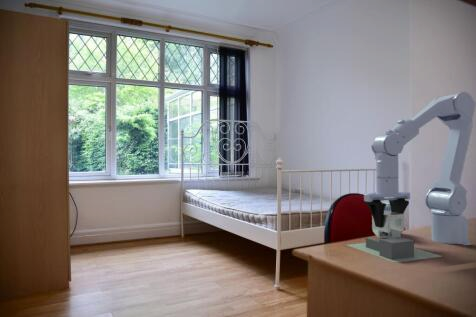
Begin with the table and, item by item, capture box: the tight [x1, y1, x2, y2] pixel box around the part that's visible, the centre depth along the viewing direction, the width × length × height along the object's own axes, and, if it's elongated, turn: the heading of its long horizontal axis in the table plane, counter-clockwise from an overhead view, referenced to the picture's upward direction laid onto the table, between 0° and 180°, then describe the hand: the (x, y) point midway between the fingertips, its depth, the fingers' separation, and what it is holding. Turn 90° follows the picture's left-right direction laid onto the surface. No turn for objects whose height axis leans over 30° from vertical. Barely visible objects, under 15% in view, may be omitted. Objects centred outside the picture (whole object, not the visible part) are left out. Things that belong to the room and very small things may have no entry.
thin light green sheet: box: [346, 237, 443, 264], centre depth 93 cm, size 15×18×5 cm
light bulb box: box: [372, 202, 402, 239], centre depth 112 cm, size 11×7×11 cm, turn 168°
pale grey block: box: [371, 211, 405, 233], centre depth 99 cm, size 6×6×5 cm
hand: (387, 226), depth 99 cm, fingers closed on pale grey block, 6 cm apart
